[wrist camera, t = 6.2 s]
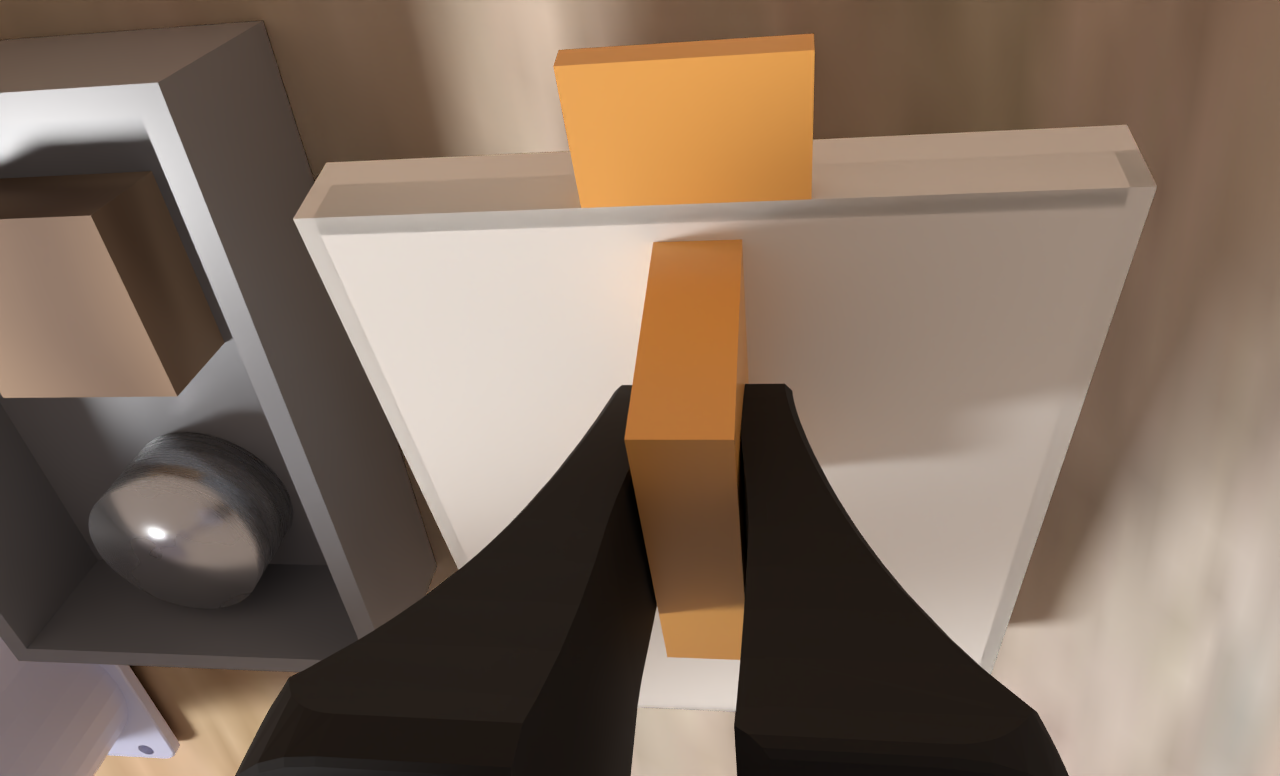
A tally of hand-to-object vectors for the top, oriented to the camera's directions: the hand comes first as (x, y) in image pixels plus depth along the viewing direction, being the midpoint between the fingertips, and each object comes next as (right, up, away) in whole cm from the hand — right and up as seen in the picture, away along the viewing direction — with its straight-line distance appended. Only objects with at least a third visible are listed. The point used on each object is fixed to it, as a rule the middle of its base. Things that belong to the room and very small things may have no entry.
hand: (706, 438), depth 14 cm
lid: (+1, 0, +4) cm, 4 cm away
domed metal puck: (-12, -2, +10) cm, 15 cm away
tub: (-12, +2, +8) cm, 14 cm away
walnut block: (-12, +3, +6) cm, 14 cm away
